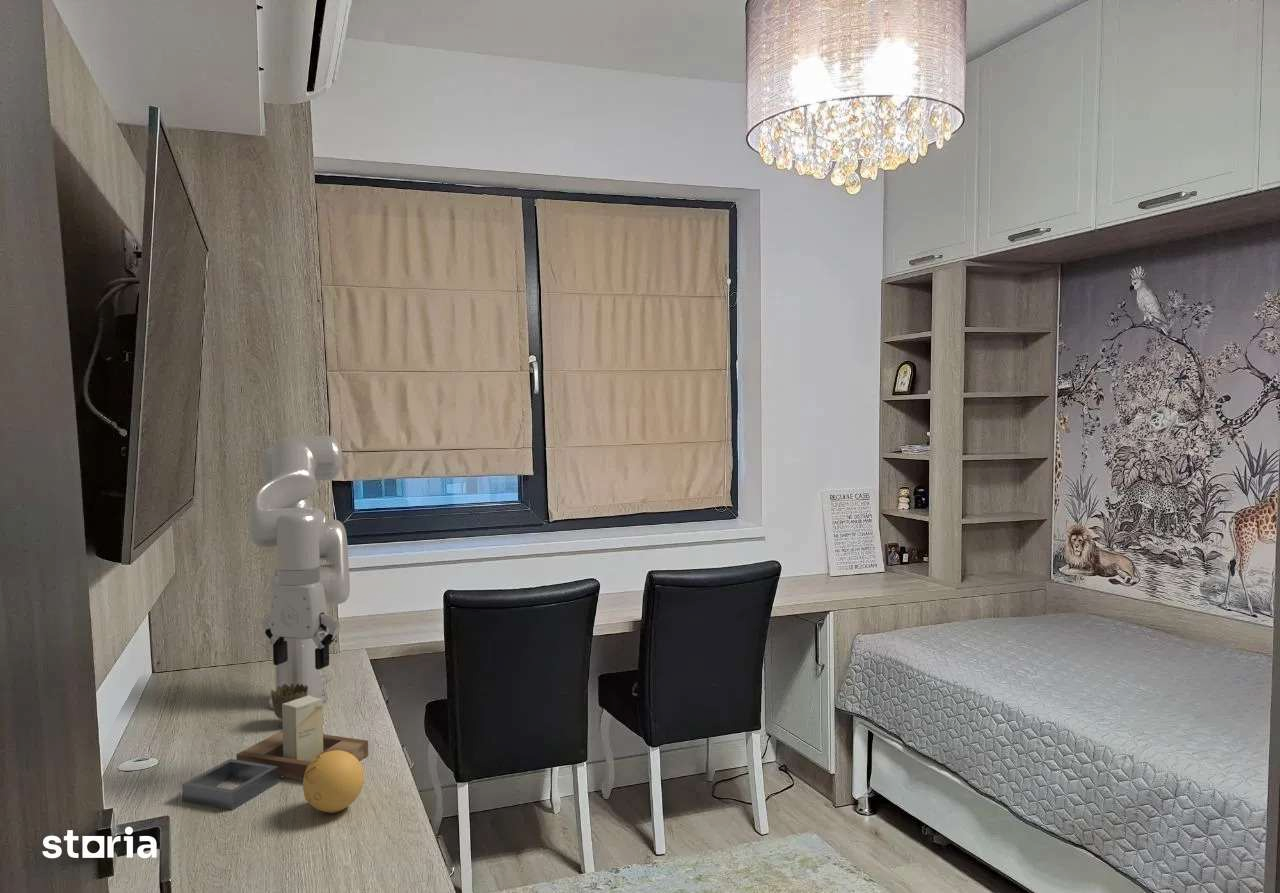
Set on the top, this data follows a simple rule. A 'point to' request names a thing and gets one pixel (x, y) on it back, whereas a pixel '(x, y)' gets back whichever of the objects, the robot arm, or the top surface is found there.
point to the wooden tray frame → (293, 768)
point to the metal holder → (208, 794)
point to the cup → (286, 696)
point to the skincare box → (302, 728)
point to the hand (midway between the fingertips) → (301, 665)
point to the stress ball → (333, 781)
